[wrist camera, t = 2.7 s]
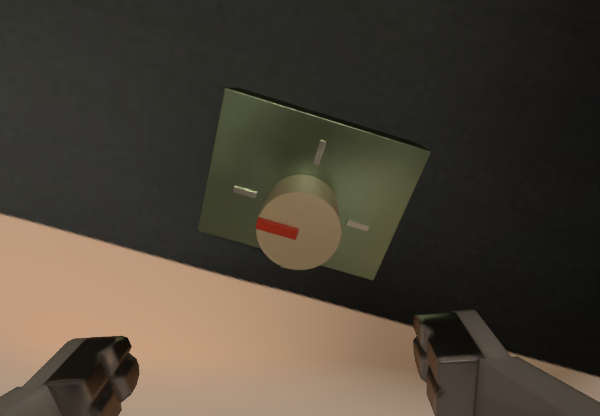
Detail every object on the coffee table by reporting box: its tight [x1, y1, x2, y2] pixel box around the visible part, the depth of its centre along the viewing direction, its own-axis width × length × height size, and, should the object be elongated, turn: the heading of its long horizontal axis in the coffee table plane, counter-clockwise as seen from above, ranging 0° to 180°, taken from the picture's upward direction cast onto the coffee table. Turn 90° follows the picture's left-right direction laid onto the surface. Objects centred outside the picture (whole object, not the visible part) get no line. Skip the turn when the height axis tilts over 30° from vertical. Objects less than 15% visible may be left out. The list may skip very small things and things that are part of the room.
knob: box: [255, 174, 342, 270], centre depth 17 cm, size 4×4×4 cm
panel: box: [198, 87, 431, 280], centre depth 20 cm, size 12×10×3 cm
